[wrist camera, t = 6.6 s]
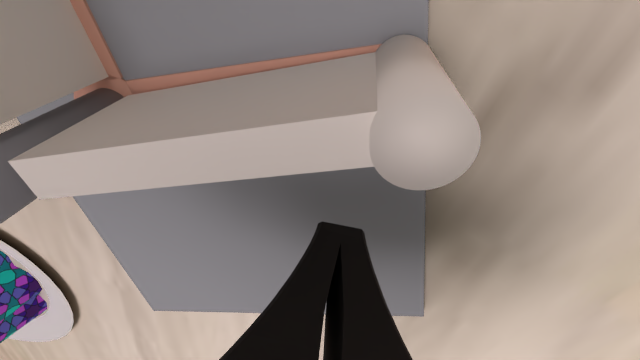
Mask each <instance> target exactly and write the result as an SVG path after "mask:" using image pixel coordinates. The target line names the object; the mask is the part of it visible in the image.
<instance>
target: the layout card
mask: <svg viewBox="0 0 640 360" xmlns="http://www.w3.org/2000/svg"><path fill="white" fill-rule="evenodd" d="M70 2H71V4H72V6H73V8H74V10H75V12H76V14H77V16H78V18H79V19H80V21H81V23H82V25H83V27H84V29H85V31H86V33H87V35H88V37H89V39H90V41H91V43H92V45H93V47H94V49H95V51H96V53H97V55H98V57H99V59H100V61H101V63H102V65H103V66H104V68H105V70H106V72H107V74H108V76H109V77H107V78H105V79H103V80H100V81H98V82H96V83H93V84H91V85H89V86H87V87H84V88H82V89H80V90H78V91H75V92H73V93H71V94H68V95H66V96H64V97H62V98H59V99H57V100H55V101H52V102H50V103H48V104H46V105H43V106H41V107H39V108H37V109H34V110H32V111H30V112H27V113H25V114H23V115H21V116H18V117H16V118H17V119H18V120H19V122H20V123H21V124H23V123H25V122H27V121H29V120H31V119H33V118H36V117H38V116H40V115H42V114H44V113H46V112H49V111H51V110H53V109H55V108H57V107H59V106H61V105H64V104H66V103H68V102H70V101H72V100H74V99H76V98H79V97H81V96H83V95H85V94H87V93H89V92H92V91H94V90H96V89H99V88H107V89H111V90H114V91H116V92H118V93H119V94H121V95H122V96H123V97H126V96H128V95H133V94H139V93H145V92H150V91H156V90H162V89H167V88H173V87H179V86H185V85H190V84H196V83H202V82H207V81H213V80H219V79H224V78H230V77H236V76H242V75H247V74H253V73H259V72H264V71H270V70H276V69H281V68H287V67H293V66H299V65H304V64H310V63H316V62H321V61H327V60H333V59H339V58H344V57H350V56H356V55H361V54H367V53H373V52H376V50H377V49H378V48H379V47H380V45H381V44H383V43H384V42H385V41H386V40H388V39H390V38H392V37H394V36H398V35H413V36H416V37H418V38H420V39H422V40H423V41H424V42H425V43H426V44H427V45H428V0H70ZM425 197H426V190H409V189H404V188H401V187H398V186H396V185H393V184H391V183H390V182H388V181H387V180H385V179H384V178H383V177H382V176H381V175H380V174H379V173H378V172H377V170H376V169H375V167H365V168H355V169H345V170H335V171H325V172H314V173H304V174H294V175H284V176H274V177H264V178H254V179H244V180H234V181H224V182H213V183H203V184H193V185H183V186H173V187H163V188H153V189H143V190H133V191H122V192H112V193H102V194H92V195H82V196H73V198H74V199H75V201H76V202H77V203H78V205H79V206H80V208H81V209H82V210H83V212H84V213H85V215H86V216H87V217H88V219H89V220H90V222H91V223H92V225H93V226H94V227H95V229H96V230H97V232H98V233H99V234H100V236H101V237H102V239H103V240H104V241H105V243H106V244H107V246H108V247H109V248H110V250H111V251H112V253H113V254H114V256H115V257H116V258H117V260H118V261H119V263H120V264H121V265H122V267H123V268H124V270H125V271H126V272H127V274H128V275H129V277H130V278H131V279H132V281H133V282H134V284H135V285H136V286H137V288H138V289H139V291H140V292H141V294H142V295H143V296H144V298H145V299H146V301H147V302H148V303H149V305H150V306H151V308H152V309H153V310H154V311H194V312H241V313H262V312H263V311H264V310H265V308H266V307H267V306H268V305H269V303H270V302H271V301H272V300H273V298H274V297H275V296H276V294H277V293H278V292H279V290H280V289H281V287H282V286H283V285H284V283H285V282H286V281H287V279H288V278H289V276H290V275H291V274H292V272H293V270H294V269H295V267H296V266H297V264H298V263H299V261H300V259H301V258H302V256H303V255H304V253H305V251H306V249H307V247H308V246H309V244H310V242H311V240H312V238H313V236H314V233H315V231H316V228H317V225H318V223H320V222H322V221H323V222H328V223H333V224H338V225H343V226H349V227H354V228H359V229H362V230H363V231H364V233H365V239H366V243H367V247H368V251H369V255H370V258H371V262H372V265H373V268H374V271H375V274H376V277H377V280H378V283H379V285H380V288H381V291H382V293H383V296H384V299H385V301H386V304H387V306H388V309H389V311H390V313H391V315H392V316H424V263H425ZM324 314H326V306H325V311H324Z"/></svg>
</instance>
